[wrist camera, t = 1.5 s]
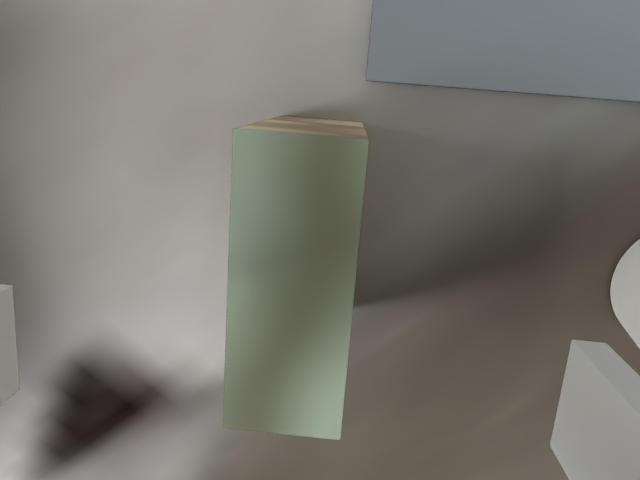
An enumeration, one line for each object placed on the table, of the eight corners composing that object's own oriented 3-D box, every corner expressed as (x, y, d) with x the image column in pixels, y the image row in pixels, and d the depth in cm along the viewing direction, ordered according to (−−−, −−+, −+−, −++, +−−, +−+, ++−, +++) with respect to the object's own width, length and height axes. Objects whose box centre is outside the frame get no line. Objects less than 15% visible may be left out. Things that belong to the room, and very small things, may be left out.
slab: (271, 301, 30) (222, 428, 19) (282, 115, 28) (233, 128, 16) (344, 308, 30) (339, 439, 19) (361, 122, 28) (369, 139, 16)
